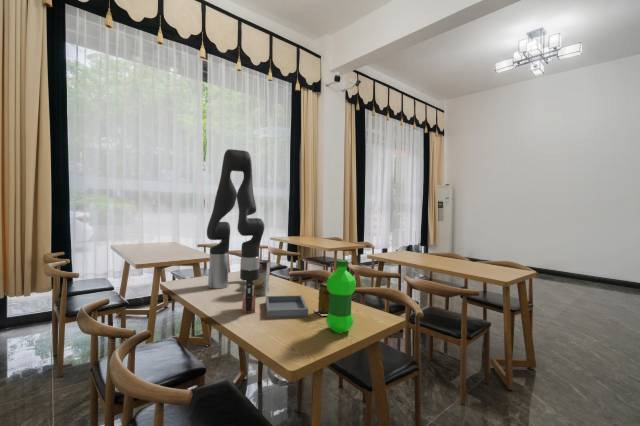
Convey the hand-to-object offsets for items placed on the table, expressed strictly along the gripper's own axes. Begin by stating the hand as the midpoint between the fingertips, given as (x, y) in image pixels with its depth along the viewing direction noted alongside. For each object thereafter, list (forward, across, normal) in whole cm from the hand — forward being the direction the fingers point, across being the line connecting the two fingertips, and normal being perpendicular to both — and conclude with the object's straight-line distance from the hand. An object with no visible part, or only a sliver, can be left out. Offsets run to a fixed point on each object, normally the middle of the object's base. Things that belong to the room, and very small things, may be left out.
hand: (248, 308), depth 126 cm
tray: (+1, 0, +15) cm, 15 cm away
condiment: (+1, +6, +31) cm, 32 cm away
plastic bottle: (+1, +23, +32) cm, 39 cm away
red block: (+1, 0, 0) cm, 1 cm away
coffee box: (+1, -23, +4) cm, 23 cm away
